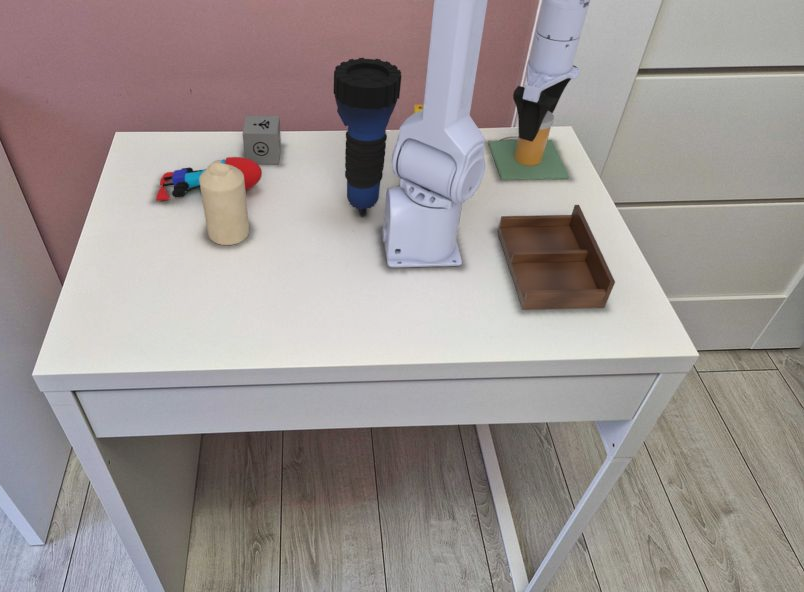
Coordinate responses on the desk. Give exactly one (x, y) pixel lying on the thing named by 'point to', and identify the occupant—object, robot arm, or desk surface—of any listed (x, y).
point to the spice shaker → (534, 144)
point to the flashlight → (365, 123)
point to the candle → (224, 203)
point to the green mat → (516, 171)
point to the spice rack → (555, 261)
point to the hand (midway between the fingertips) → (535, 126)
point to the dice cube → (262, 139)
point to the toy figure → (190, 179)
